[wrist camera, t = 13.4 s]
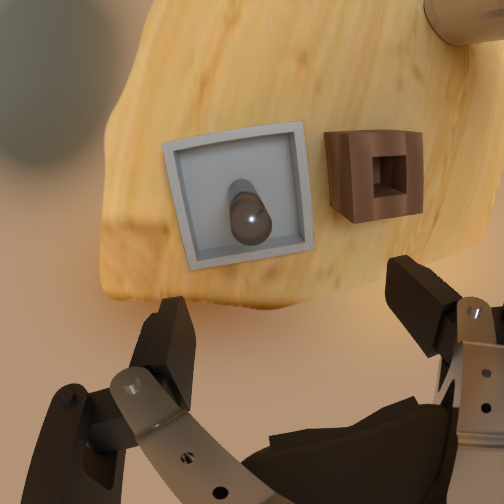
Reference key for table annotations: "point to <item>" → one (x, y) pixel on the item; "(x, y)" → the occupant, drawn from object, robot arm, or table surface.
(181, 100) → the table surface
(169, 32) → the table surface
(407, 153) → the pin block
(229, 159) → the tray
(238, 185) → the pin
